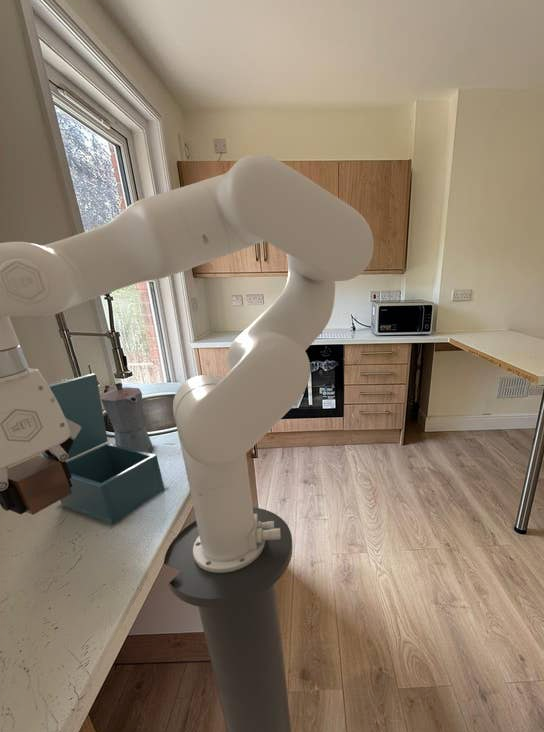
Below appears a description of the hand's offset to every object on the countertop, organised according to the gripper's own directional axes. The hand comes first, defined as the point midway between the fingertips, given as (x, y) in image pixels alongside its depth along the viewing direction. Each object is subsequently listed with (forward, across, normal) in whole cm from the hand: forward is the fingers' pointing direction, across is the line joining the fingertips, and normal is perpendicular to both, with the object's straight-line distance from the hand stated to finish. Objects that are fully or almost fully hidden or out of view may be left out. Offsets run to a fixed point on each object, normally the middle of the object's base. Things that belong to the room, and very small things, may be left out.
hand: (41, 496), depth 47 cm
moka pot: (+18, +35, +31) cm, 50 cm away
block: (0, 0, 0) cm, 0 cm away
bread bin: (+18, +19, +17) cm, 31 cm away
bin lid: (0, +19, +23) cm, 30 cm away
